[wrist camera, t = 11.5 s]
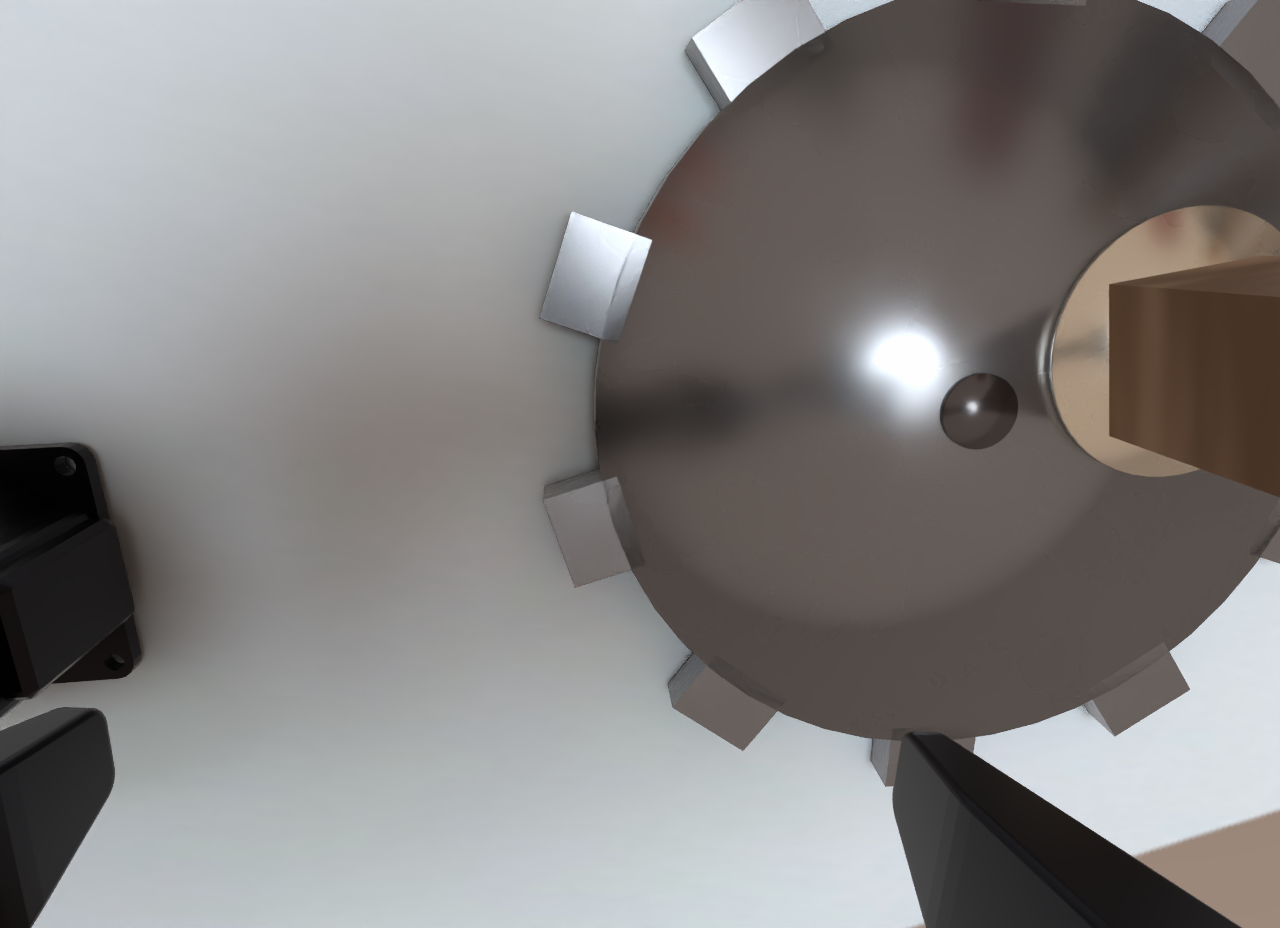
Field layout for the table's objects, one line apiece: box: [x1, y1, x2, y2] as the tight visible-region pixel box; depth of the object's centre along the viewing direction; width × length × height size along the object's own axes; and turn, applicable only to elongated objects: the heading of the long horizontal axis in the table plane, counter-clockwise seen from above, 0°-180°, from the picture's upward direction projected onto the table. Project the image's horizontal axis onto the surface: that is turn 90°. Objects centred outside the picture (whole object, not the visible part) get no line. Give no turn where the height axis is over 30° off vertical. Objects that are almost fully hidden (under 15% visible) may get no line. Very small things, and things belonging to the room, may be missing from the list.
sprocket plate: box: [540, 0, 1280, 787], centre depth 21 cm, size 23×23×1 cm
